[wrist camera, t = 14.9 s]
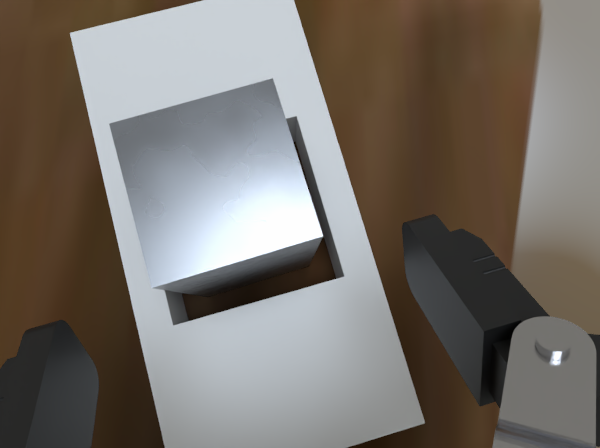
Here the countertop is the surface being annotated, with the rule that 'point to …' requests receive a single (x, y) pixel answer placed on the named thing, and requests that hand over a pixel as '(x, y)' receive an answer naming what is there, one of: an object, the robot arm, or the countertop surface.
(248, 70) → the white square hole block
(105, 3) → the countertop surface
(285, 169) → the steel square peg
